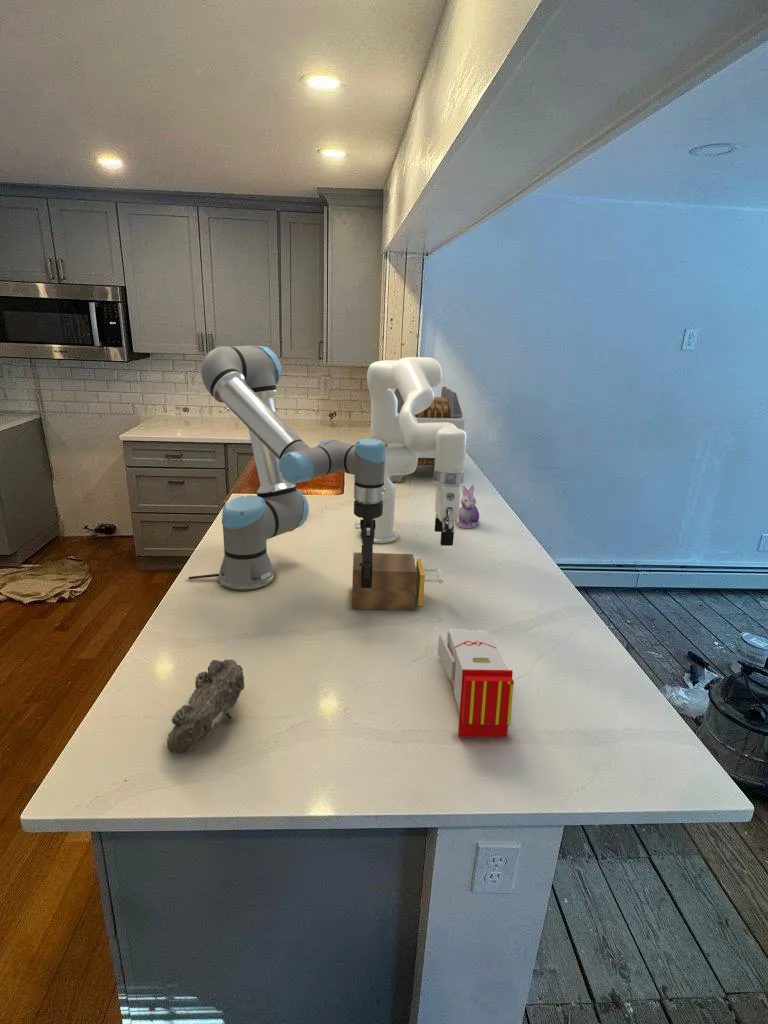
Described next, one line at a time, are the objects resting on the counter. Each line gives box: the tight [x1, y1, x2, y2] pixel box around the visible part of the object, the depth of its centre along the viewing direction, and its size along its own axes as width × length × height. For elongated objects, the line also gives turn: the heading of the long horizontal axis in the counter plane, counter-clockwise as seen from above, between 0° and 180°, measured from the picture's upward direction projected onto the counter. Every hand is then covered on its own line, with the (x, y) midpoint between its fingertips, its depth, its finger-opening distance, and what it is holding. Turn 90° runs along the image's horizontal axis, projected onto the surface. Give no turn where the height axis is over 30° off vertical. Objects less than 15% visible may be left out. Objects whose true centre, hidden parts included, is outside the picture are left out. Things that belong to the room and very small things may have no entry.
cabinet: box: [351, 552, 417, 611], centre depth 153 cm, size 16×11×11 cm
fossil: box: [166, 658, 245, 754], centre depth 106 cm, size 22×10×15 cm
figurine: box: [456, 484, 480, 529], centre depth 209 cm, size 9×10×15 cm
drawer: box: [415, 558, 444, 606], centre depth 153 cm, size 20×10×9 cm, turn 92°
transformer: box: [384, 386, 465, 483], centre depth 268 cm, size 34×33×41 cm
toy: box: [437, 628, 515, 738], centre depth 117 cm, size 12×13×30 cm
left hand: (366, 576), depth 152 cm, fingers open, 12 cm apart
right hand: (443, 538), depth 152 cm, fingers open, 9 cm apart
